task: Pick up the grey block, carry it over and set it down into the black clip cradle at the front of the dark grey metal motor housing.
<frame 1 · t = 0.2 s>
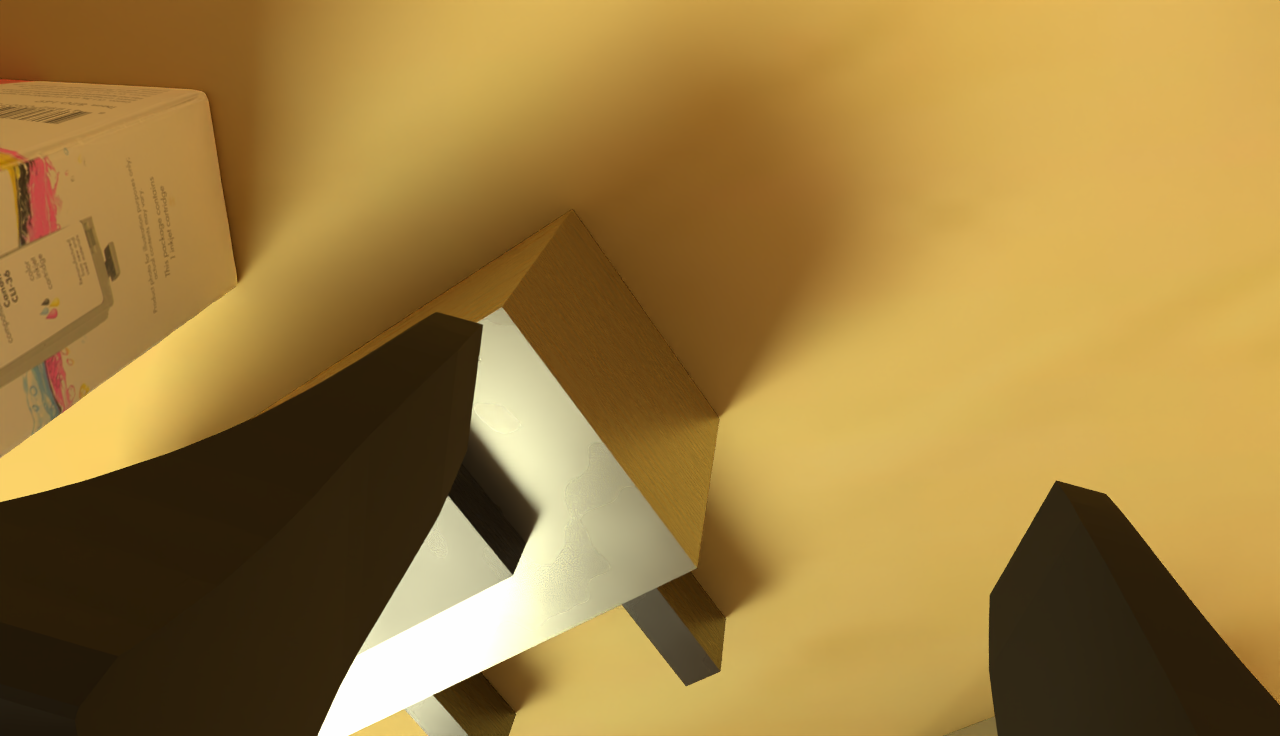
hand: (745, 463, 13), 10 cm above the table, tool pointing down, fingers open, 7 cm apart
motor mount: (491, 540, 27), on the table
ink cartridge box: (67, 181, 24), on the table
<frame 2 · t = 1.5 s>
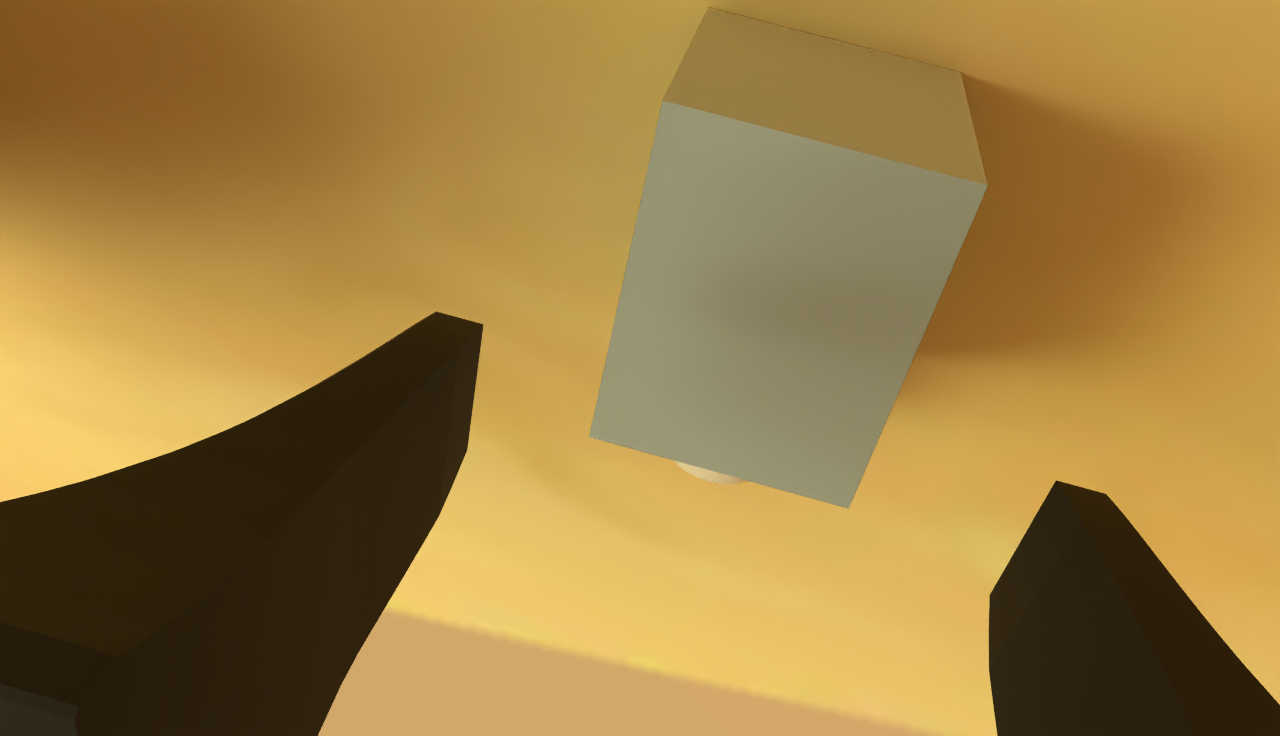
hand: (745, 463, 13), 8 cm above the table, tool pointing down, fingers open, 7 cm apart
grey block: (786, 192, 20), on the table
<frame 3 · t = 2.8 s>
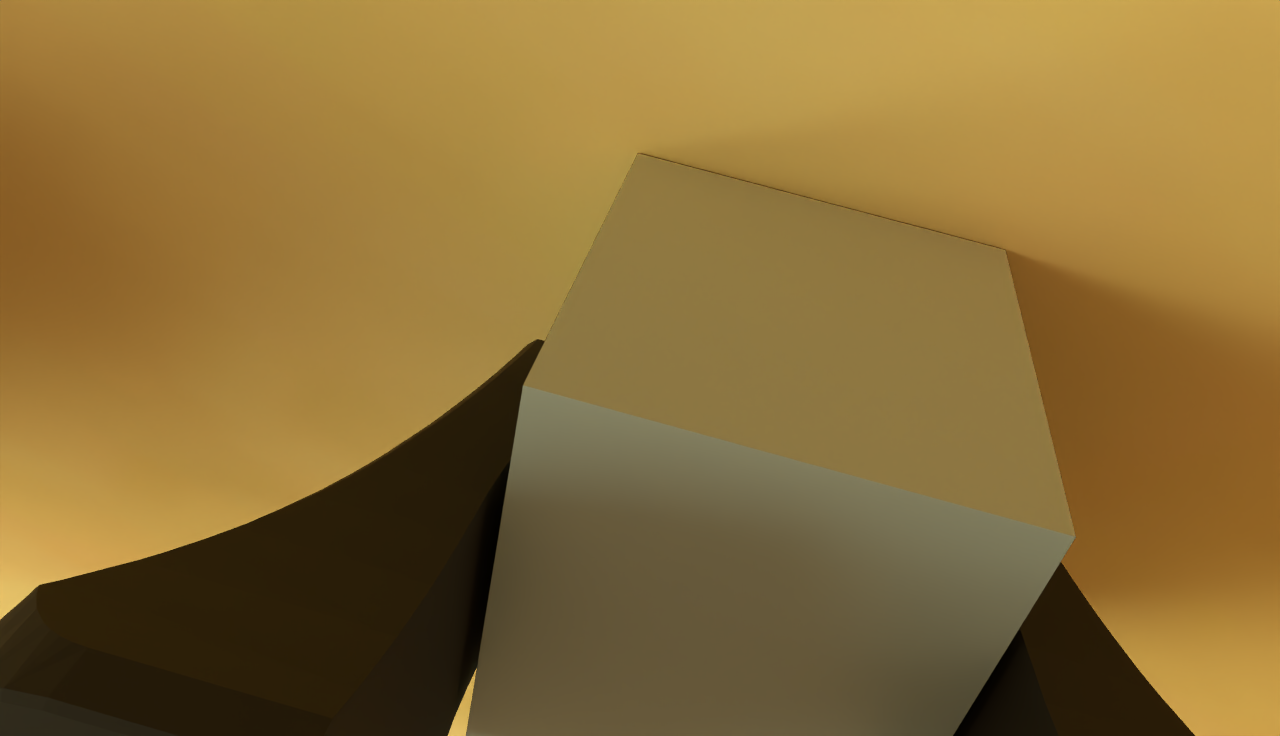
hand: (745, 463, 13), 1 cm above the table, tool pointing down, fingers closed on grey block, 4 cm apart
grey block: (755, 398, 14), on the table, touching gripper
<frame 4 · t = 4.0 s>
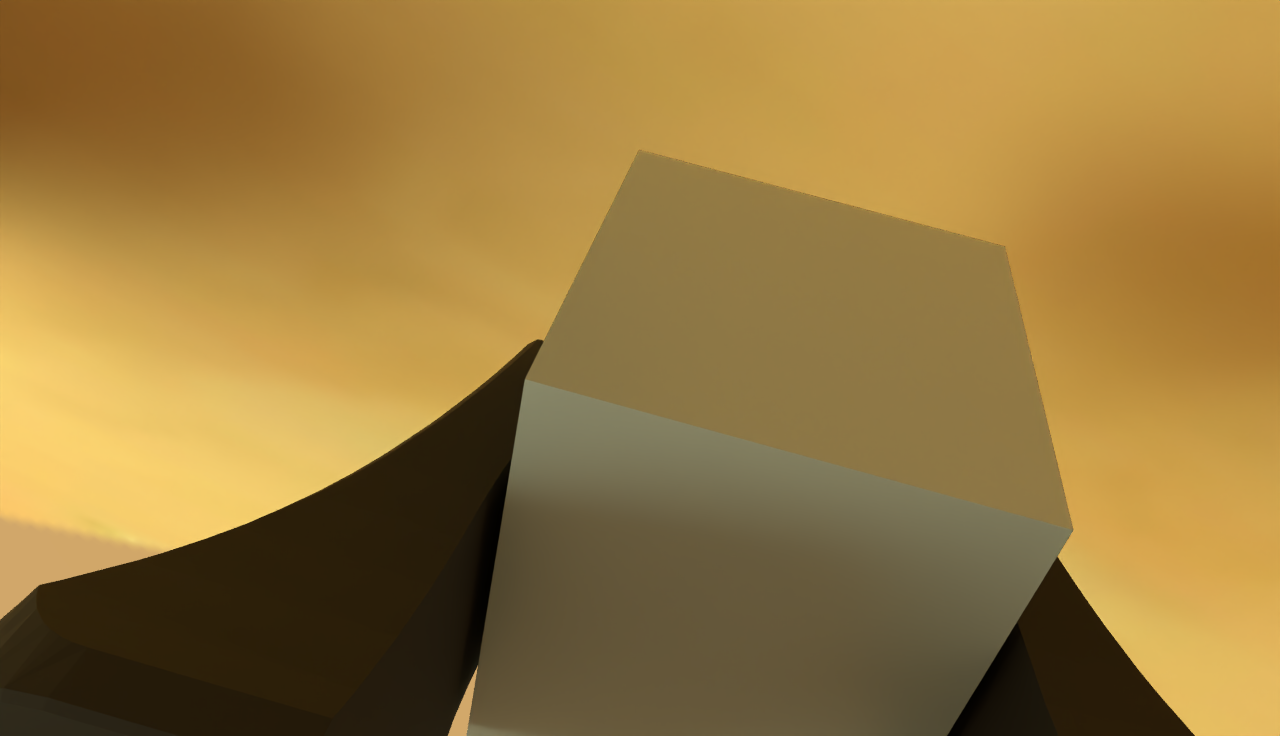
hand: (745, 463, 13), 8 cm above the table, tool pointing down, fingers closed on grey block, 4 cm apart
grey block: (755, 394, 14), point 7 cm above the table, touching gripper
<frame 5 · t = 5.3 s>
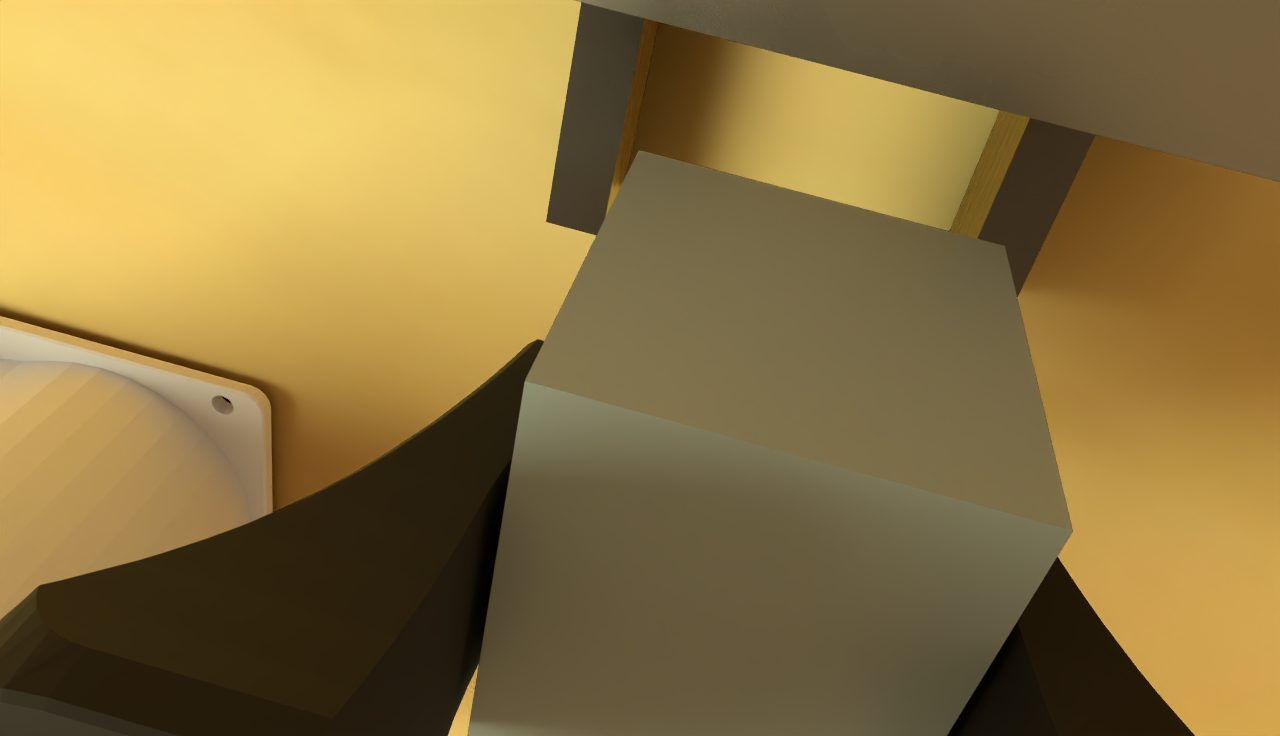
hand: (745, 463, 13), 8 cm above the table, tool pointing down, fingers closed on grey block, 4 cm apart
grey block: (755, 393, 14), point 6 cm above the table, touching gripper
when the fingers open (3 cm above the table, at t = 6.5 s): grey block drops 2 cm, on the table.
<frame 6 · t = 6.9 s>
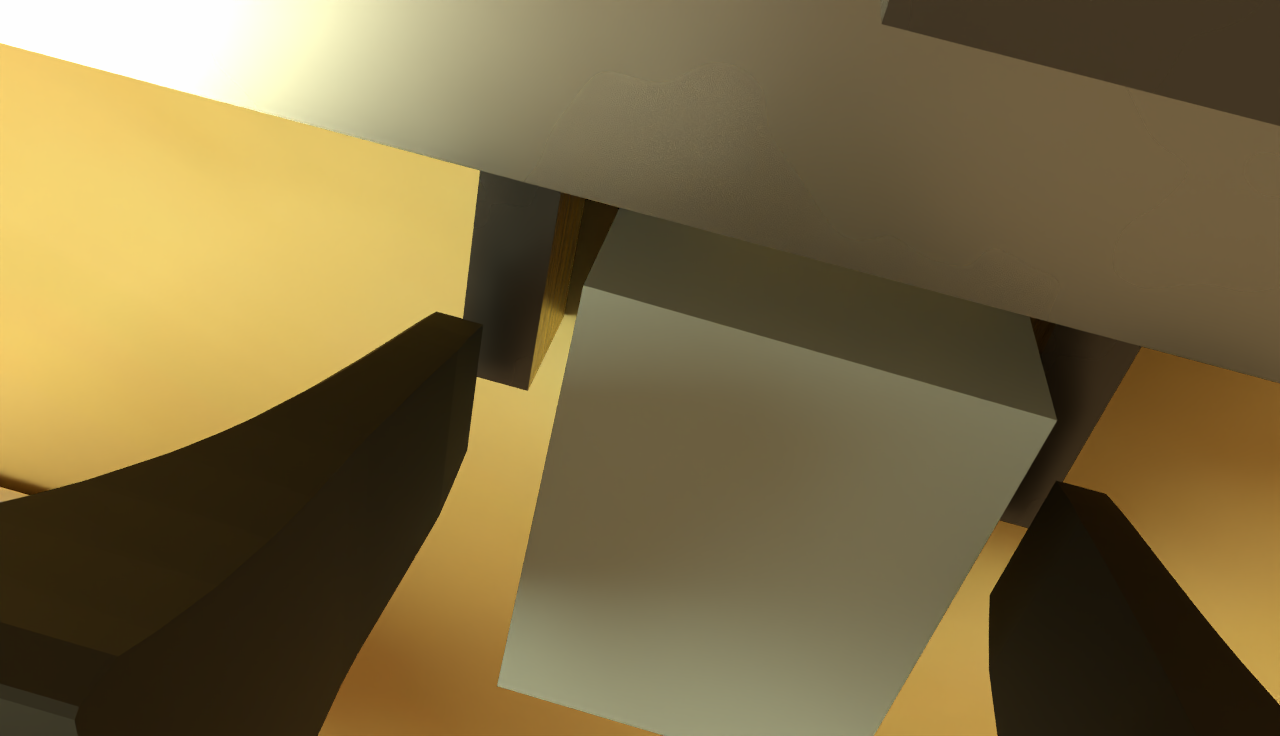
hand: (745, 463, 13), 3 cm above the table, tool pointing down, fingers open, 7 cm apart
grey block: (767, 335, 15), on the table
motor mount: (861, 42, 13), on the table
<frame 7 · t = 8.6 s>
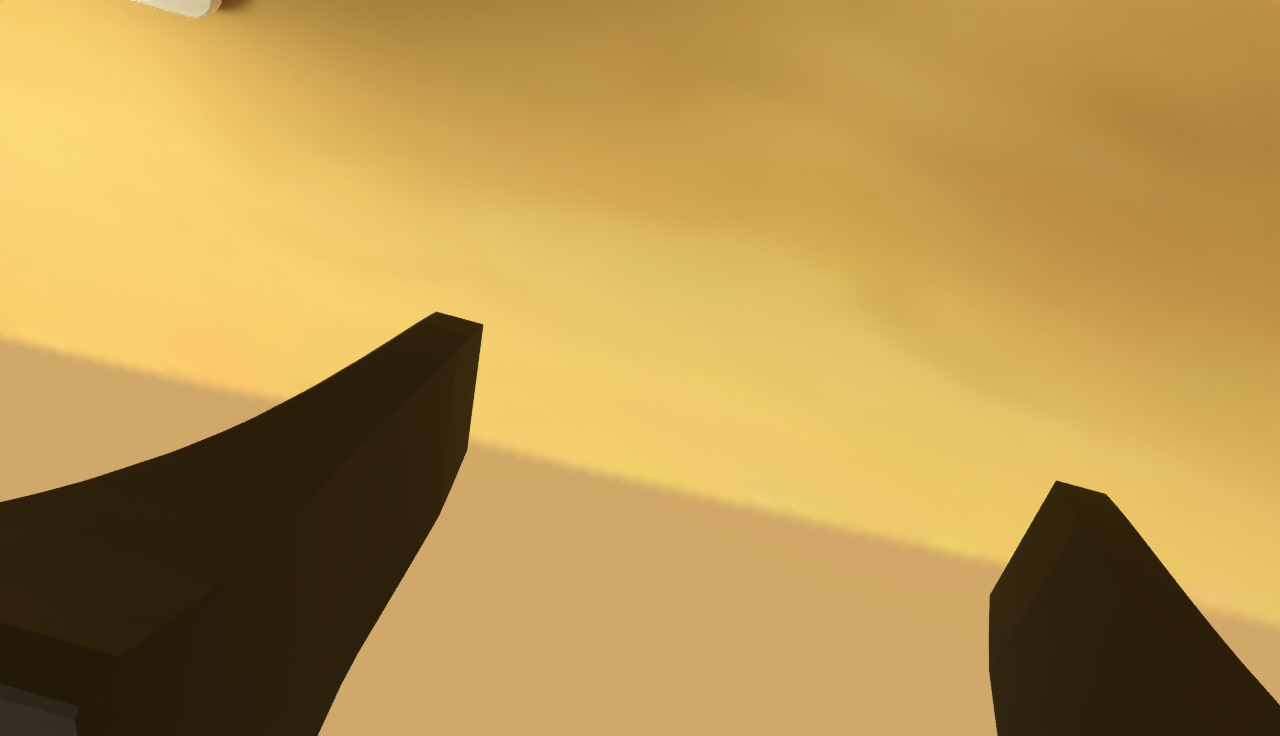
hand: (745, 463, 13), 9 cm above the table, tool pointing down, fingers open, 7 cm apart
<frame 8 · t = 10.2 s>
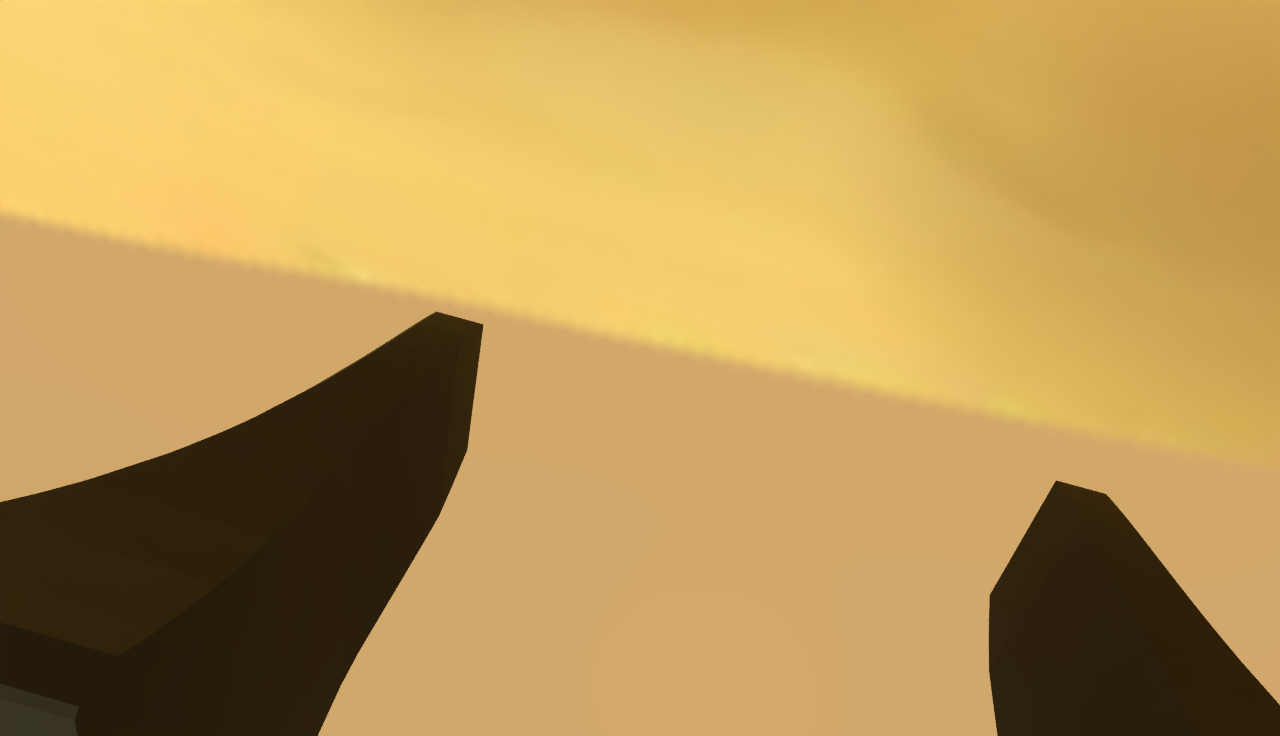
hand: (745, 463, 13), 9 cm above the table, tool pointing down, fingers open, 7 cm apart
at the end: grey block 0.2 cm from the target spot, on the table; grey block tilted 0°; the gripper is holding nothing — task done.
